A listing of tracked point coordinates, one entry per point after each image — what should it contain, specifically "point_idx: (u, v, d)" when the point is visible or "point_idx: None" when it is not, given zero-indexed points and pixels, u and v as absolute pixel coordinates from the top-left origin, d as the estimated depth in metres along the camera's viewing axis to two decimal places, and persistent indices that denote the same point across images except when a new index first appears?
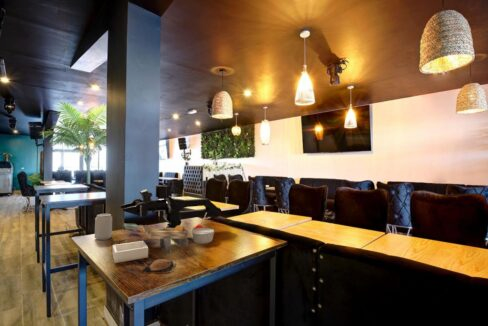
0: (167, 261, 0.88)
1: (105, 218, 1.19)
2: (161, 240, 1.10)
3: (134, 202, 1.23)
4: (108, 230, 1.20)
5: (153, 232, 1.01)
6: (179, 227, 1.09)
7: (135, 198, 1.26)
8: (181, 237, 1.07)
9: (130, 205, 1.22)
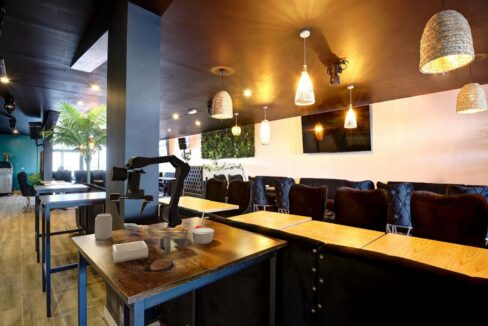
0: (167, 261, 0.88)
1: (105, 218, 1.19)
2: (161, 240, 1.10)
3: (119, 202, 1.10)
4: (108, 230, 1.20)
5: (153, 232, 1.01)
6: (179, 227, 1.09)
7: (111, 199, 1.07)
8: (181, 237, 1.07)
9: (119, 205, 1.11)
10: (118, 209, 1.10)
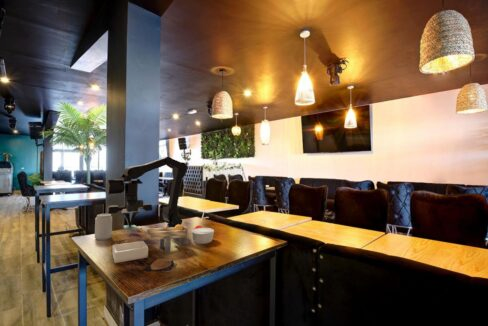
0: (168, 260, 0.89)
1: (105, 218, 1.19)
2: (161, 240, 1.10)
3: None
4: (108, 230, 1.20)
5: (153, 233, 1.01)
6: (179, 226, 1.09)
7: (110, 213, 1.06)
8: (181, 236, 1.07)
9: None
10: (128, 220, 1.12)
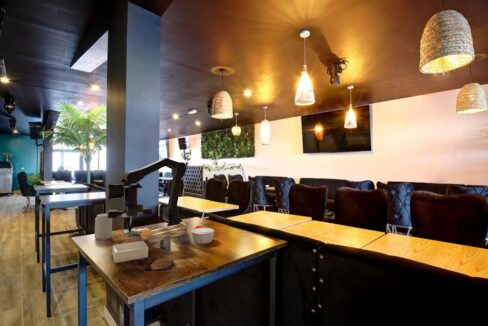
0: (168, 260, 0.89)
1: (105, 218, 1.19)
2: (161, 240, 1.10)
3: None
4: (108, 230, 1.20)
5: (152, 236, 1.01)
6: (143, 233, 1.01)
7: None
8: (181, 233, 1.07)
9: None
10: (128, 225, 1.12)
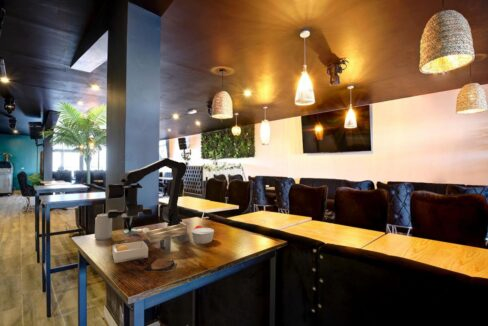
0: (168, 260, 0.89)
1: (105, 218, 1.19)
2: (161, 240, 1.10)
3: None
4: (108, 230, 1.20)
5: (152, 236, 1.01)
6: (122, 247, 0.96)
7: None
8: (181, 233, 1.07)
9: None
10: (128, 225, 1.12)
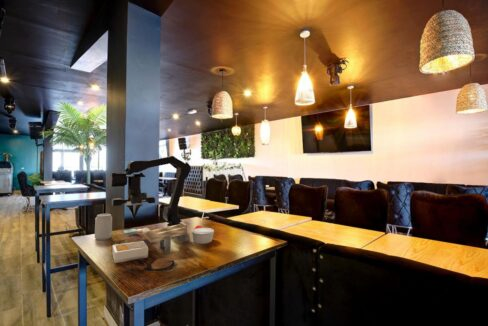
0: (168, 260, 0.89)
1: (105, 218, 1.19)
2: (161, 240, 1.10)
3: None
4: (108, 230, 1.20)
5: (152, 236, 1.01)
6: (124, 247, 0.97)
7: (114, 205, 1.10)
8: (181, 233, 1.07)
9: None
10: (132, 213, 1.16)
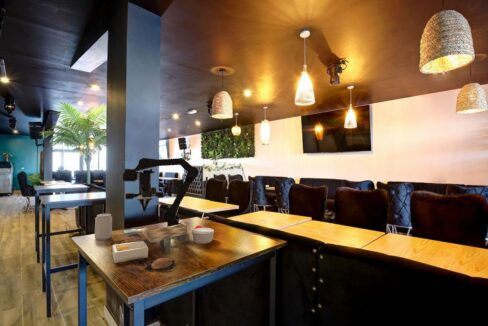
0: (168, 260, 0.89)
1: (105, 218, 1.19)
2: (161, 240, 1.10)
3: (143, 199, 1.25)
4: (108, 230, 1.20)
5: (152, 236, 1.01)
6: (125, 247, 0.97)
7: None
8: (181, 233, 1.07)
9: (143, 202, 1.26)
10: (143, 206, 1.25)
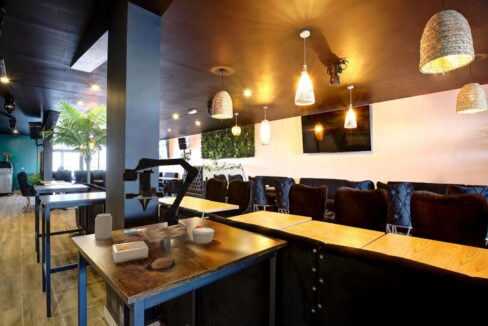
0: (169, 260, 0.89)
1: (105, 218, 1.19)
2: (161, 240, 1.10)
3: (143, 199, 1.25)
4: (108, 230, 1.20)
5: (152, 236, 1.01)
6: (127, 247, 0.97)
7: None
8: (181, 233, 1.07)
9: (143, 202, 1.26)
10: (143, 206, 1.25)
